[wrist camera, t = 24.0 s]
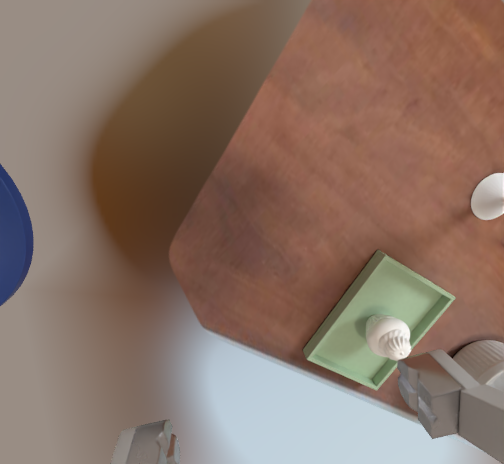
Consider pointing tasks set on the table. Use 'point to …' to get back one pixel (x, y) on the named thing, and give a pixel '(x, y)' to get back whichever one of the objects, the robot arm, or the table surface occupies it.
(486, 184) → the champagne flute
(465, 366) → the ramekin
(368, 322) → the muffin
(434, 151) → the table surface
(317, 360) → the tray
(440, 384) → the robot arm
